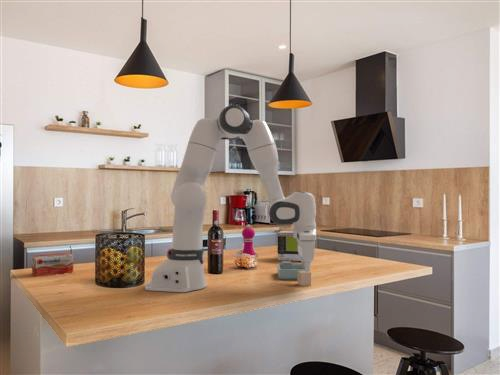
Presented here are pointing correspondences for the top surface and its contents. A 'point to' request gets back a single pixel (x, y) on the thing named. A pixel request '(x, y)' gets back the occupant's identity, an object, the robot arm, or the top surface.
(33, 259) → the medicine box
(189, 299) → the top surface
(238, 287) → the top surface
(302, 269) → the tub
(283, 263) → the grey block
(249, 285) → the top surface
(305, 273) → the stone sandstone
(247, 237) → the pepper mill
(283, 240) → the tea box
